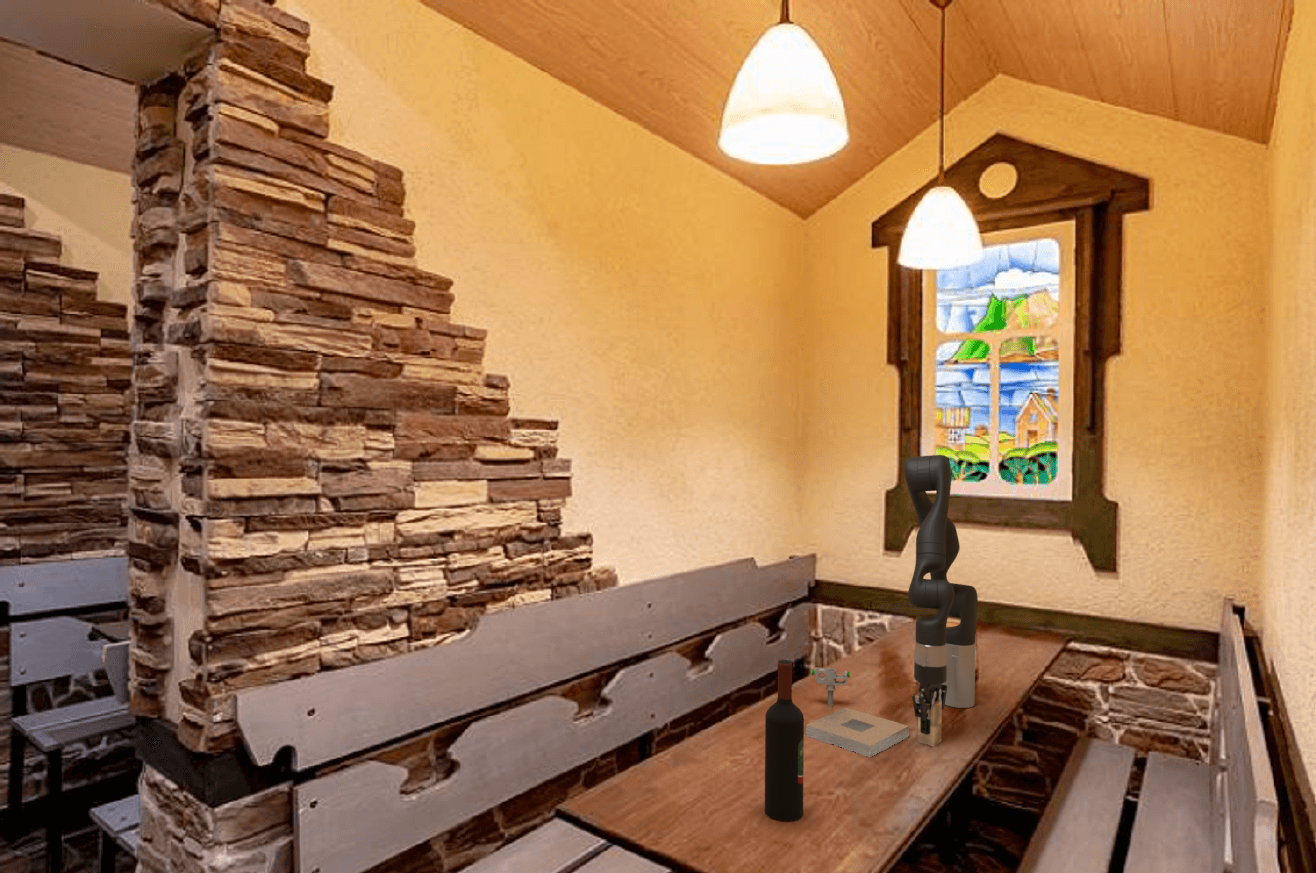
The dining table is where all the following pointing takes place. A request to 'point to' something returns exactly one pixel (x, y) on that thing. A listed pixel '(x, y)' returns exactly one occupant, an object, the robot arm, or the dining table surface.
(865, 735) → the square slotted board
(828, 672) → the mechanical component
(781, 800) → the wine bottle
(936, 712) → the wooden block
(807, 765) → the dining table surface
